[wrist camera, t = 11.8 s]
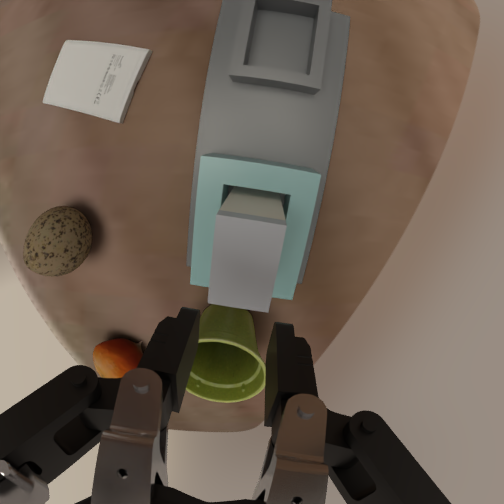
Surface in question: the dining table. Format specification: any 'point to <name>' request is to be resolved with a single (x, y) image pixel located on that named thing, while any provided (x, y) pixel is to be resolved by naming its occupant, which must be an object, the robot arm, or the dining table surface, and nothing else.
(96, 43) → the external hard drive
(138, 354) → the fruit
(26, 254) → the decorative egg
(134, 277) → the dining table surface
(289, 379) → the robot arm
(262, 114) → the panel
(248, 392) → the plant pot
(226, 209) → the plug
